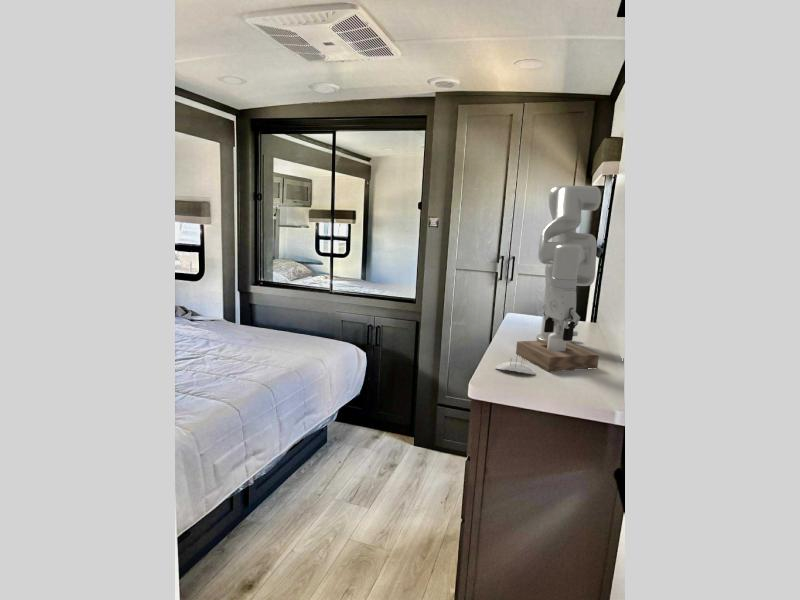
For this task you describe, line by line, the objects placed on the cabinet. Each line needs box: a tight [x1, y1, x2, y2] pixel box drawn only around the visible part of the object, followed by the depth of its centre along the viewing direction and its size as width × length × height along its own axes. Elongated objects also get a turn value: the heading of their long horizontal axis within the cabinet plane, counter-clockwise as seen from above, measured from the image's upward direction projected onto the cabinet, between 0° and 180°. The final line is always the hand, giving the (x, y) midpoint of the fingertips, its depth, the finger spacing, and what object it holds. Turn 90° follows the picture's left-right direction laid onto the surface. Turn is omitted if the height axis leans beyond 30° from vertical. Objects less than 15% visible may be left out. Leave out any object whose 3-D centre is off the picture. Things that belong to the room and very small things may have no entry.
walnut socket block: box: [515, 340, 600, 373], centre depth 145 cm, size 18×18×4 cm
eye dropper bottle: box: [547, 322, 567, 352], centre depth 144 cm, size 4×6×12 cm
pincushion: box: [494, 354, 536, 376], centre depth 133 cm, size 12×6×6 cm, turn 71°
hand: (557, 336), depth 144 cm, fingers open, 9 cm apart
